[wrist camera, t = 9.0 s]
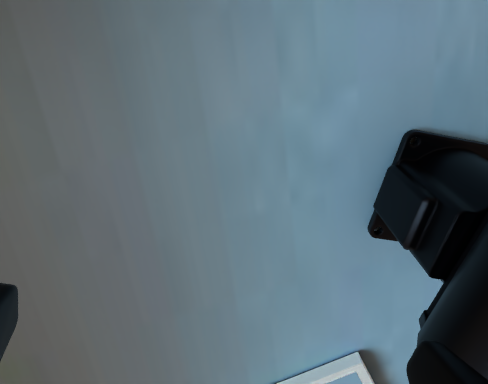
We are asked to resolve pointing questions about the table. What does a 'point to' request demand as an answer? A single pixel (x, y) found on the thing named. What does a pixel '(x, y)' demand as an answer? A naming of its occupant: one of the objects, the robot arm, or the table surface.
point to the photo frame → (334, 372)
